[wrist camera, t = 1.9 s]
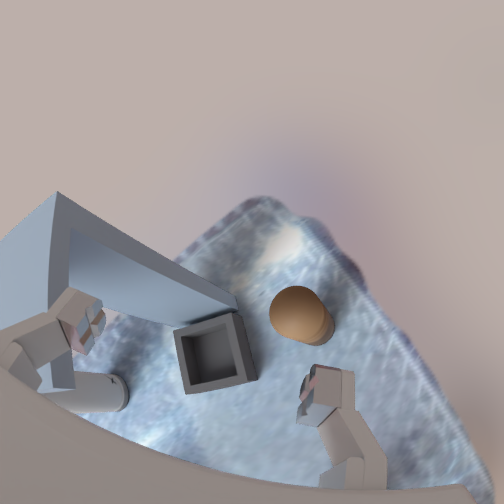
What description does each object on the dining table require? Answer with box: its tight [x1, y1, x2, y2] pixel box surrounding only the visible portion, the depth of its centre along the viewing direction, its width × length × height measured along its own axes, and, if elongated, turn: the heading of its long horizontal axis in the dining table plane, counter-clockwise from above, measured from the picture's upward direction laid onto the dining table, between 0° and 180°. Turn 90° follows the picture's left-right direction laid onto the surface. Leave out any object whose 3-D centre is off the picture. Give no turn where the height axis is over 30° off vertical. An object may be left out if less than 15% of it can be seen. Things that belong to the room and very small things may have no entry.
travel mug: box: [40, 371, 128, 413], centre depth 33 cm, size 6×7×20 cm
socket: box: [173, 313, 258, 394], centre depth 37 cm, size 8×8×4 cm
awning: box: [0, 191, 238, 393], centre depth 27 cm, size 12×10×28 cm
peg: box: [269, 286, 335, 346], centre depth 31 cm, size 4×4×12 cm
